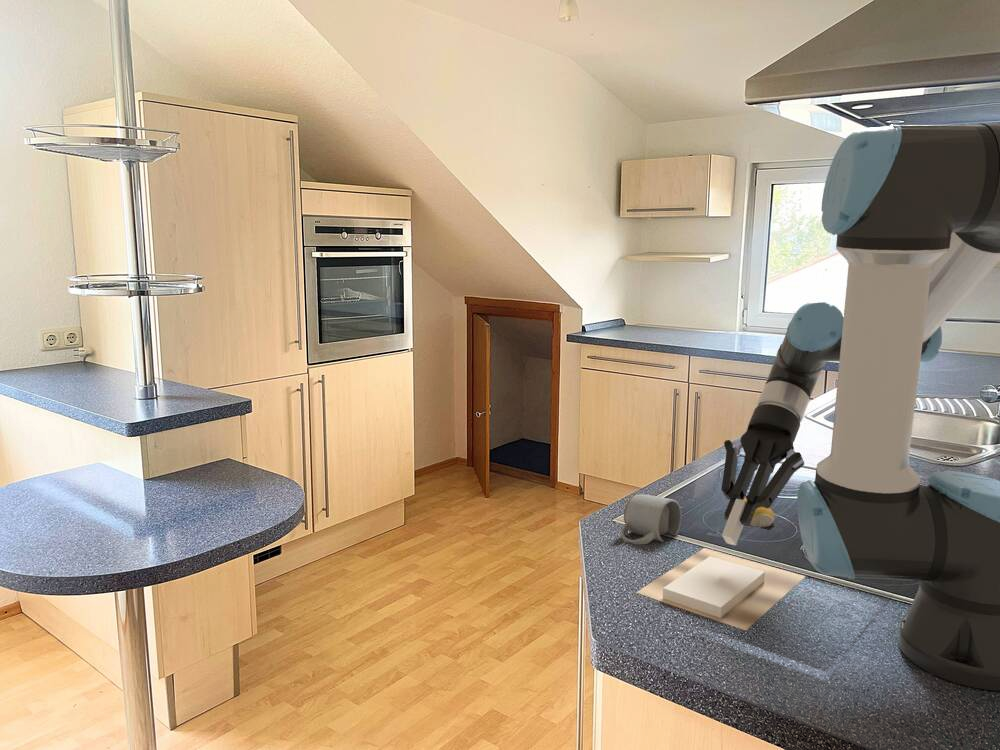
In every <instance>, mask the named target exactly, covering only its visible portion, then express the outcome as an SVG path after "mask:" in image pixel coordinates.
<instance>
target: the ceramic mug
mask: <svg viewBox="0 0 1000 750" xmlns="http://www.w3.org/2000/svg"><path fill="white" fill-rule="evenodd" d="M623 521H624V525H623V526H622V528H621V531H620V534H621V538H622V541H623V543H629V544H632V545H633V544H634V545H647V544H649V543H651V542H652V541H653V540H655V541H657V542H662V543H663V542H664V540H663V539H662V538H661V536H662V535H666V534H670V535H674V536H677V535H678V534H679V532H680V528H681V526H682V525H681V524H682V508H681V506H680V503H678V501H677V500H675V499H672V498H667V497H663V496H661V497H660V496H655V495H650V494H646V493H645V494H643V493H642V494H635V495H633V496H631V497H630V498H629V499H628V501H627V503H626V505H625V507H624V511H623ZM629 531H630V532H631V533H634V534H636V535H639V536H640V535H641V536H643V537H640V538H636V539H630V538H628V537H626V536H627V534H628V532H629Z"/></svg>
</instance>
